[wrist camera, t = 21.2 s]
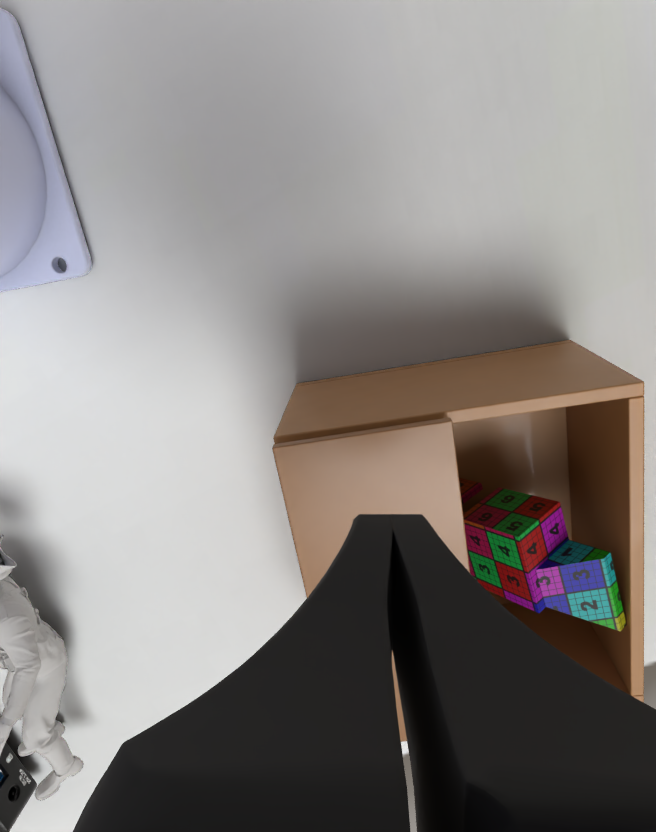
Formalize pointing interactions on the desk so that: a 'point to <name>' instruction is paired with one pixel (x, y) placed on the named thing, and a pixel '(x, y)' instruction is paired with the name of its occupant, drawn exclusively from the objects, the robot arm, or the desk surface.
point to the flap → (370, 491)
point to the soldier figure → (33, 681)
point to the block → (538, 557)
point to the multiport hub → (13, 788)
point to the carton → (525, 461)
